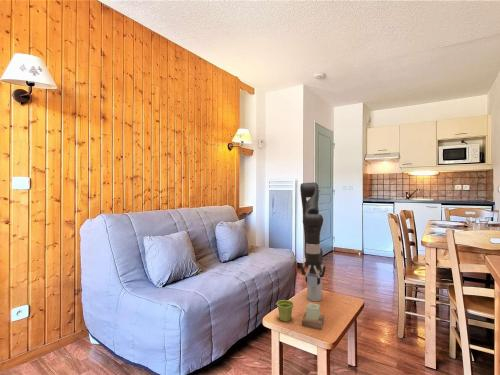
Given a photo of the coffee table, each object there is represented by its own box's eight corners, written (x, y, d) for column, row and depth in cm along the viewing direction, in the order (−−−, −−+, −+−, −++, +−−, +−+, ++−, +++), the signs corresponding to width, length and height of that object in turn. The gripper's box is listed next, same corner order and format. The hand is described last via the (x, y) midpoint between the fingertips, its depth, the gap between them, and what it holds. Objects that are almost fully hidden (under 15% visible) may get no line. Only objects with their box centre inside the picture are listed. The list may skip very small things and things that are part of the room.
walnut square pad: (305, 317, 155) (305, 311, 155) (324, 320, 152) (324, 315, 152) (301, 326, 146) (301, 319, 146) (321, 329, 142) (321, 323, 142)
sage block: (308, 313, 153) (308, 302, 153) (319, 316, 150) (319, 304, 150) (306, 318, 147) (306, 307, 147) (317, 320, 145) (317, 309, 145)
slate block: (309, 282, 152) (309, 273, 152) (318, 283, 150) (318, 274, 150) (307, 285, 147) (307, 276, 147) (316, 286, 145) (316, 277, 145)
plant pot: (279, 324, 148) (279, 307, 148) (274, 316, 158) (274, 300, 157) (296, 322, 150) (296, 306, 150) (290, 314, 159) (290, 299, 159)
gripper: (297, 252, 148) (297, 284, 148) (325, 254, 142) (325, 288, 143) (301, 249, 155) (301, 279, 155) (327, 251, 149) (327, 283, 149)
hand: (312, 283), depth 149 cm, fingers closed on slate block, 5 cm apart
